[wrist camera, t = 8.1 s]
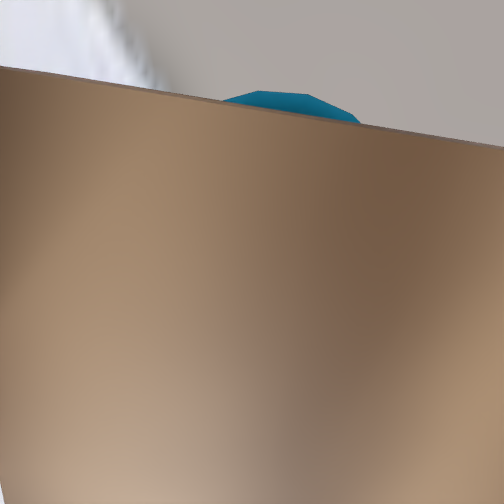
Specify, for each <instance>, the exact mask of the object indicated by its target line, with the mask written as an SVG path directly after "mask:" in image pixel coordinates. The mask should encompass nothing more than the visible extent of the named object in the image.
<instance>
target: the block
mask: <svg viewBox="0 0 504 504" xmlns="http://www.w3.org/2000/svg"><path fill="white" fill-rule="evenodd" d="M0 484H1V488H2V493H3V498H4V502H5V504H504V147H501V146H495V145H489V144H482V143H476V142H470V141H464V140H458V139H452V138H446V137H439V136H434V135H427V134H421V133H415V132H409V131H403V130H397V129H391V128H385V127H379V126H372V125H366V124H360V123H354V122H348V121H342V120H336V119H330V118H323V117H317V116H311V115H305V114H299V113H293V112H287V111H281V110H275V109H268V108H262V107H256V106H250V105H244V104H238V103H232V102H226V101H219V100H213V99H207V98H201V97H195V96H189V95H183V94H177V93H171V92H164V91H158V90H152V89H146V88H140V87H134V86H128V85H122V84H116V83H109V82H103V81H97V80H91V79H85V78H79V77H73V76H67V75H60V74H54V73H48V72H41V71H34V70H26V69H19V68H11V67H4V66H0Z"/></svg>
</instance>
